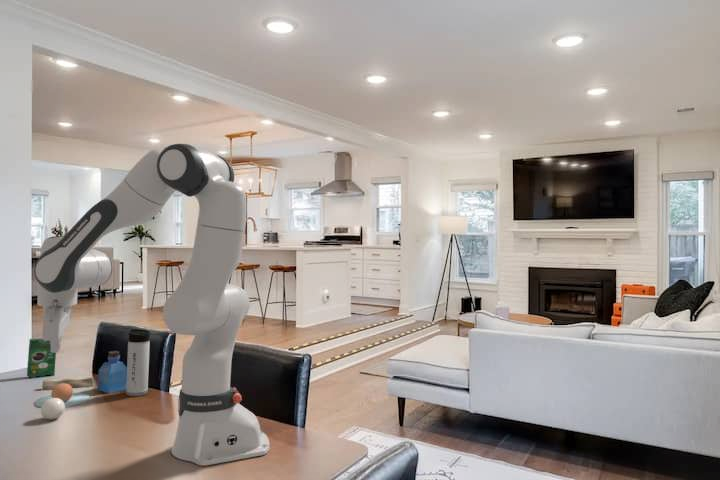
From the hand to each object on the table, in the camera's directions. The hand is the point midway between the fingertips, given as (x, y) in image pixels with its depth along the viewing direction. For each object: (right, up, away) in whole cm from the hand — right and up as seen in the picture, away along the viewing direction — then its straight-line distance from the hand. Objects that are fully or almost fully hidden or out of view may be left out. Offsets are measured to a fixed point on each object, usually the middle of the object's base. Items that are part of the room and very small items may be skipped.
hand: (55, 351), depth 129 cm
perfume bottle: (-1, -20, +32) cm, 38 cm away
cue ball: (-3, -16, +4) cm, 17 cm away
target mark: (-10, -19, +19) cm, 29 cm away
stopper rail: (-16, -19, +32) cm, 40 cm away
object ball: (-9, -16, +18) cm, 25 cm away
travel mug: (+8, -20, +29) cm, 36 cm away
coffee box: (-31, -18, +43) cm, 56 cm away
